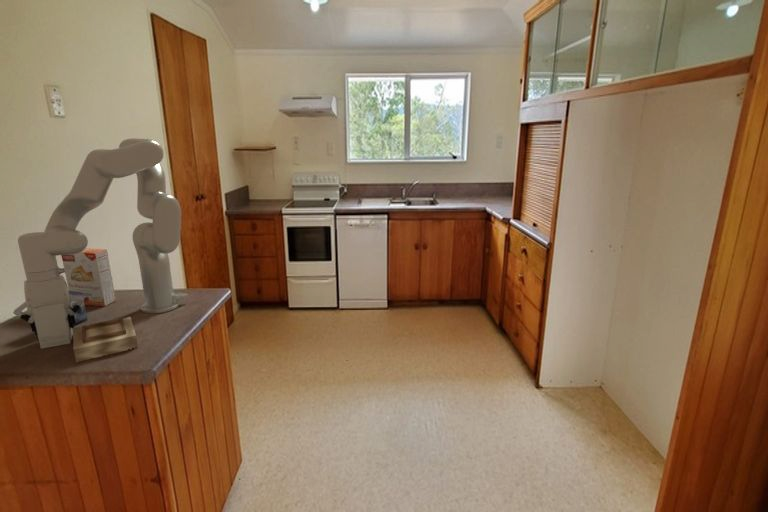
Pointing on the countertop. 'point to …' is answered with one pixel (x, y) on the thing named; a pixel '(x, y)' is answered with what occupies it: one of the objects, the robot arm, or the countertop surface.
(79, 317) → the small box
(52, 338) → the supplement box
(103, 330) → the maple plinth
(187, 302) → the countertop surface
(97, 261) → the cracker box
